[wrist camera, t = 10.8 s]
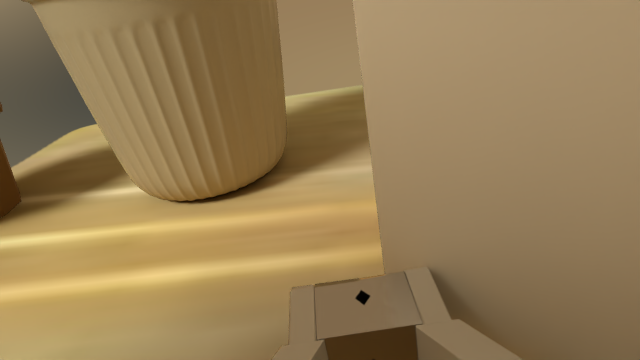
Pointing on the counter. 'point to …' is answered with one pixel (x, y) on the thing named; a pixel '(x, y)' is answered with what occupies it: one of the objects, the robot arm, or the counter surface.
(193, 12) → the canister
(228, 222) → the counter surface
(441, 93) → the upright cream panel
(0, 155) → the flowerpot
